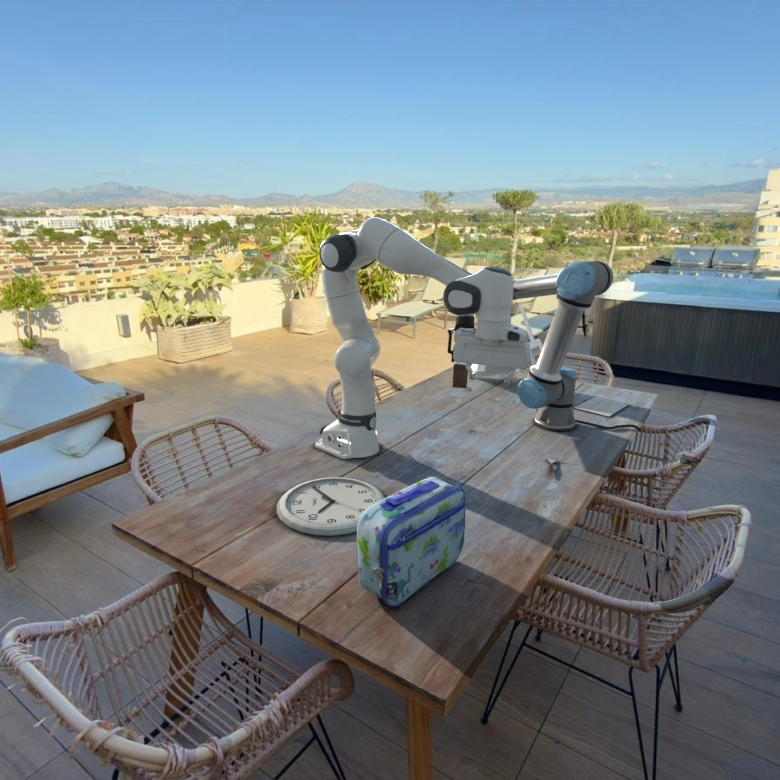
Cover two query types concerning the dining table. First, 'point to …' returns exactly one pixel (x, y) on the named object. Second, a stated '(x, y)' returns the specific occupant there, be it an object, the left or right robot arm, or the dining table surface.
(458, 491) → the lunch box
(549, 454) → the fork
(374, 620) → the dining table surface
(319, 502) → the wall clock
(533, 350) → the white plastic object
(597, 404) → the invitation card
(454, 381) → the bar
